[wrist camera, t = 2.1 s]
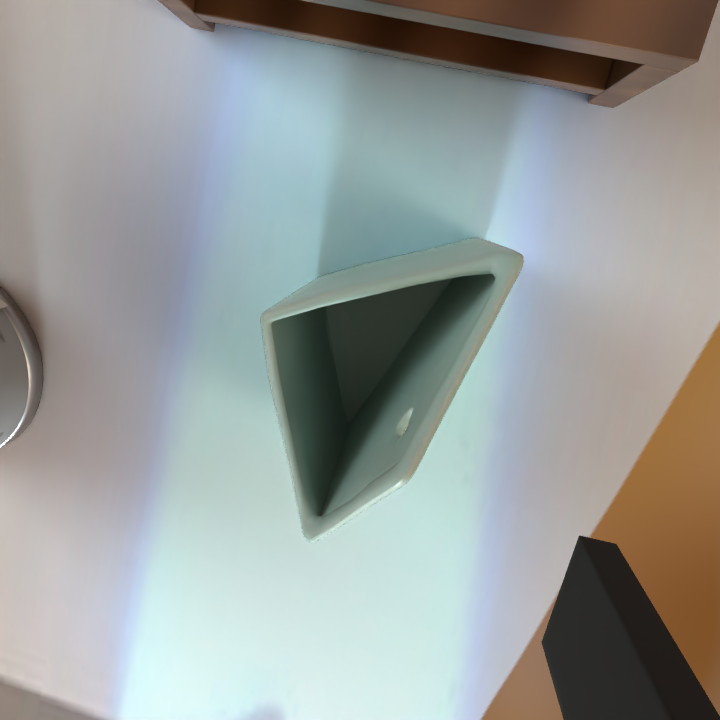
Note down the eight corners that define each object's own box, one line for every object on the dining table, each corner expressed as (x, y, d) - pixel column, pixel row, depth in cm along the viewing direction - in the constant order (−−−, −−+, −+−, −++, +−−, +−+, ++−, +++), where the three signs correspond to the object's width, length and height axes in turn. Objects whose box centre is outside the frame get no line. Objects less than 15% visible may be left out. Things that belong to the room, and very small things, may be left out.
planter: (384, 170, 34) (343, 115, 15) (487, 242, 35) (573, 275, 16) (255, 375, 38) (98, 531, 19) (348, 435, 39) (284, 646, 20)
